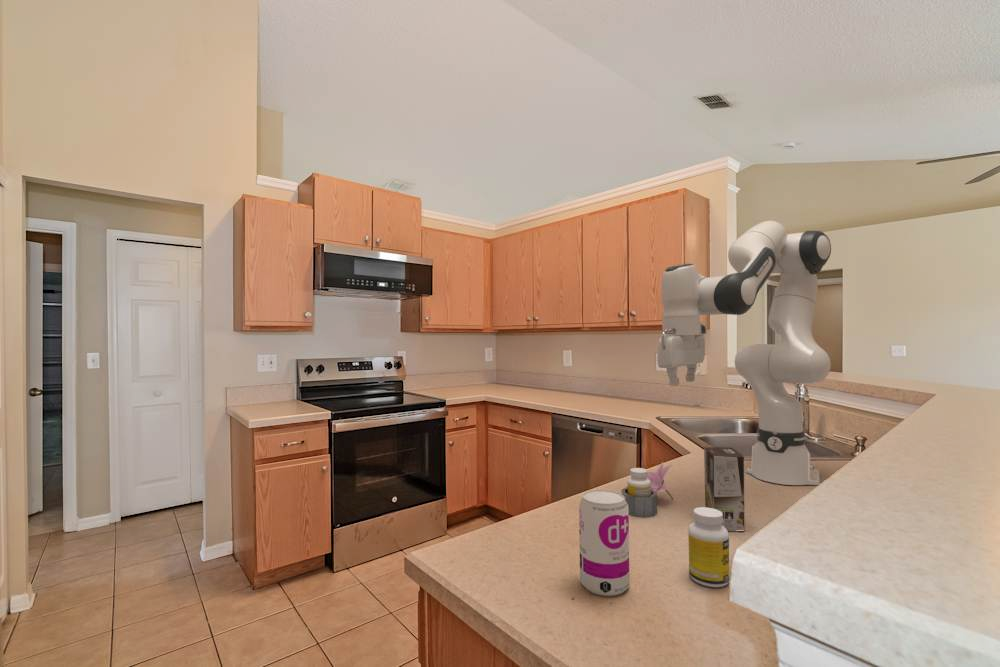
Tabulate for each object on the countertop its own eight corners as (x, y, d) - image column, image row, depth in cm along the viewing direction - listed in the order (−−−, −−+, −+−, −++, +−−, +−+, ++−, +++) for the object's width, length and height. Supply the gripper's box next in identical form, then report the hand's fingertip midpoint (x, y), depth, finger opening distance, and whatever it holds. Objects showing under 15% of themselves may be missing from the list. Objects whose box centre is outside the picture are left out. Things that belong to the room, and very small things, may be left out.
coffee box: (746, 532, 101) (745, 456, 101) (713, 530, 103) (712, 455, 103) (734, 516, 110) (733, 446, 110) (704, 514, 112) (703, 445, 112)
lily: (648, 493, 130) (631, 464, 129) (690, 482, 124) (673, 451, 123) (644, 522, 119) (626, 491, 118) (690, 512, 114) (671, 478, 113)
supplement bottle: (627, 506, 118) (626, 466, 118) (649, 507, 117) (649, 467, 117) (628, 514, 112) (628, 472, 112) (652, 515, 111) (652, 473, 111)
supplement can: (639, 593, 78) (638, 501, 78) (594, 601, 76) (592, 507, 76) (613, 570, 86) (612, 486, 86) (572, 577, 83) (570, 491, 84)
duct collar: (632, 502, 120) (632, 484, 120) (662, 510, 114) (662, 491, 114) (615, 511, 114) (615, 492, 114) (646, 519, 109) (646, 500, 109)
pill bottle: (722, 593, 78) (721, 522, 78) (682, 579, 82) (681, 512, 82) (735, 578, 82) (734, 511, 82) (697, 566, 87) (696, 502, 87)
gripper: (675, 329, 110) (677, 389, 110) (709, 327, 125) (710, 380, 125) (649, 329, 114) (651, 387, 115) (685, 328, 129) (686, 379, 129)
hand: (682, 383), depth 120 cm, fingers open, 8 cm apart
